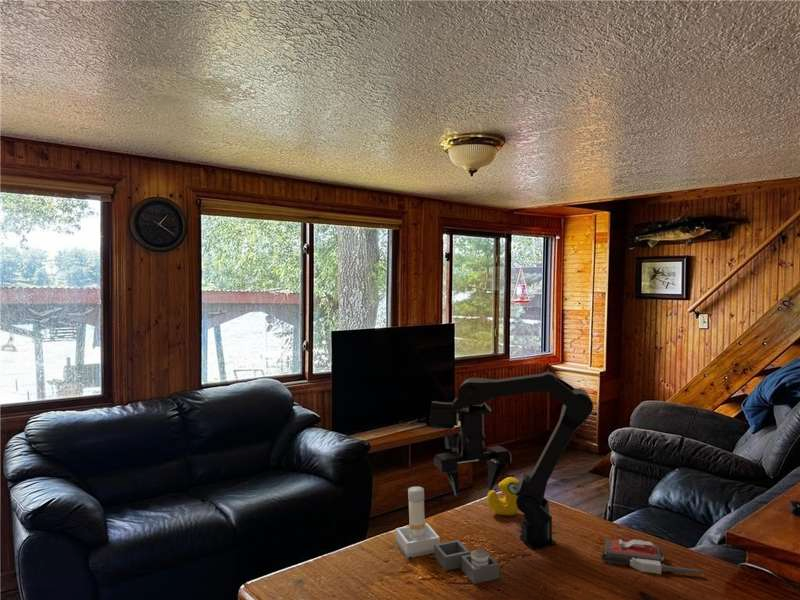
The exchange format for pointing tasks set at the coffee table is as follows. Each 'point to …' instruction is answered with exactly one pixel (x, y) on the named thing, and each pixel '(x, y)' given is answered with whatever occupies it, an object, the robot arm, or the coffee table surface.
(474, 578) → the grey boxy piece
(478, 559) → the white dome piece
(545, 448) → the robot arm
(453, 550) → the grey square frame
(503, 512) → the duckling
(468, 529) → the coffee table surface
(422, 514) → the white bulb-shaped piece
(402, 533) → the tray
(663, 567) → the toy chainsaw
